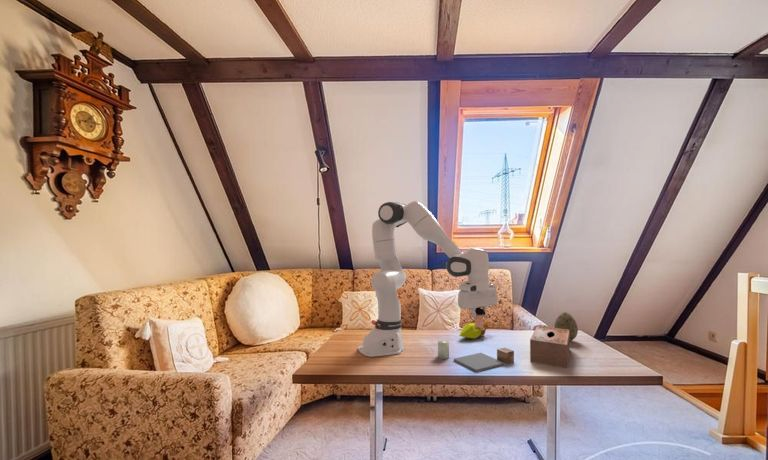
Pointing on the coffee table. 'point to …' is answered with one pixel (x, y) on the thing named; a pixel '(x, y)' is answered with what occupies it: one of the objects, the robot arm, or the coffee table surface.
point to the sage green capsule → (443, 349)
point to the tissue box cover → (550, 346)
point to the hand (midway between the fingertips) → (478, 317)
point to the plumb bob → (473, 330)
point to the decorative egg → (567, 324)
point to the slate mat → (478, 362)
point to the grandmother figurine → (479, 318)
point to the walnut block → (505, 355)
